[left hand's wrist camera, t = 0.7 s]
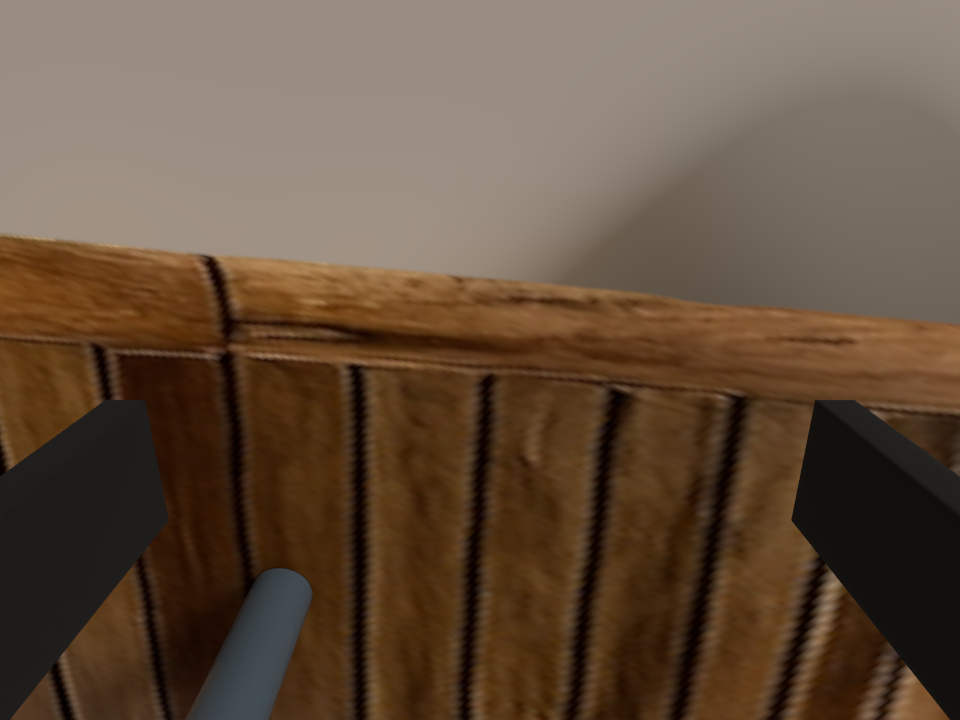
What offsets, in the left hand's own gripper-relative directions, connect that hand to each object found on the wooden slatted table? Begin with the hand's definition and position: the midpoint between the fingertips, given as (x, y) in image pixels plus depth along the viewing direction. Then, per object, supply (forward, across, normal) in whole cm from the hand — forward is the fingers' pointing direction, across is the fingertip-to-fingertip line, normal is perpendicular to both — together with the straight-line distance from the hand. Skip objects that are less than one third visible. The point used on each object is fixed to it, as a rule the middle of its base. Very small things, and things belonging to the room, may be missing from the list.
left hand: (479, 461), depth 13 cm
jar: (+28, +15, +27) cm, 42 cm away
